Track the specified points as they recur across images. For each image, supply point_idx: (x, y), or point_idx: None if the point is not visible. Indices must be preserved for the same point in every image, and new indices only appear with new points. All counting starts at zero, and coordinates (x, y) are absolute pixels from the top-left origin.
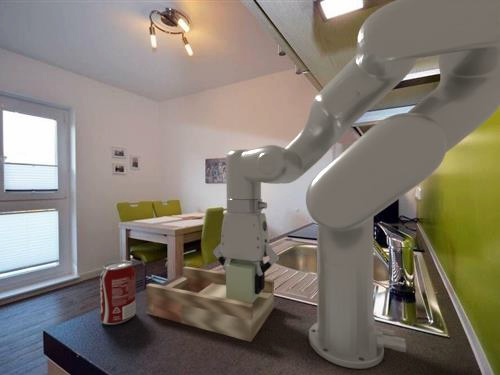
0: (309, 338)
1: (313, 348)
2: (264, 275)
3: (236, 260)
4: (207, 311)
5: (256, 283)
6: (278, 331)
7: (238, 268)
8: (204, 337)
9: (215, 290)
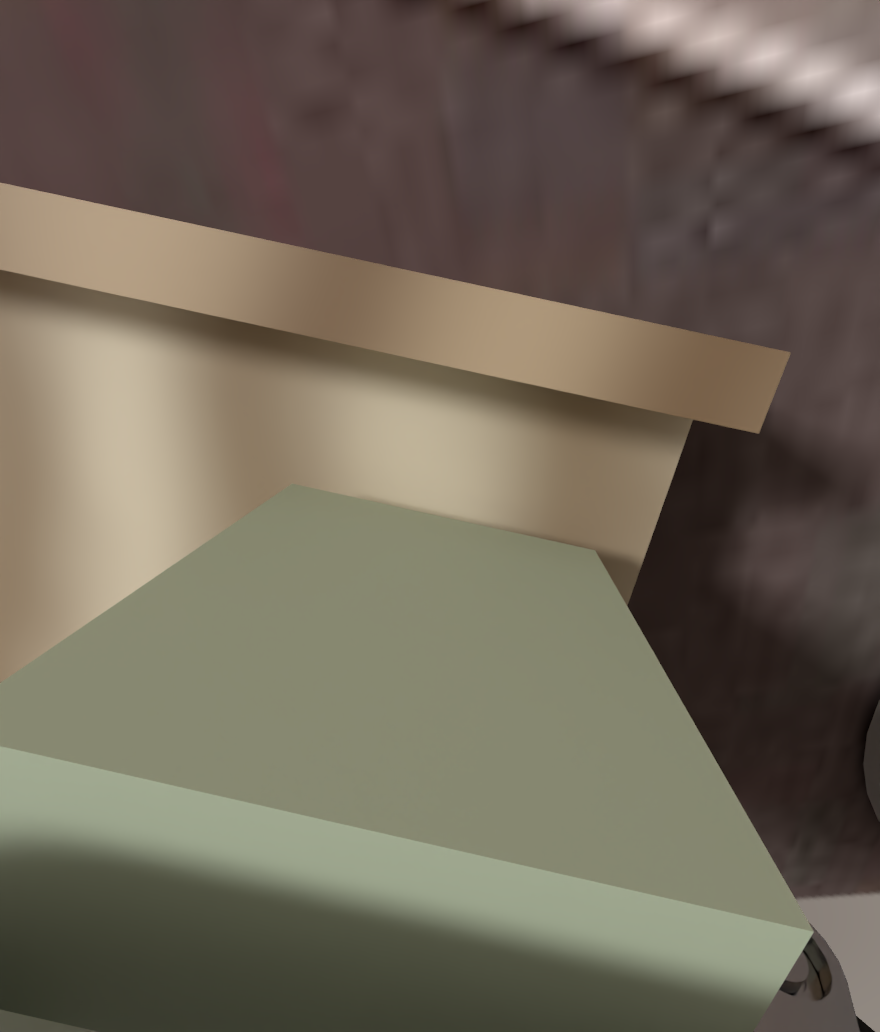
0: (876, 763)
1: (871, 800)
2: None
3: (27, 968)
4: None
5: None
6: (676, 666)
7: None
8: None
9: (60, 474)
